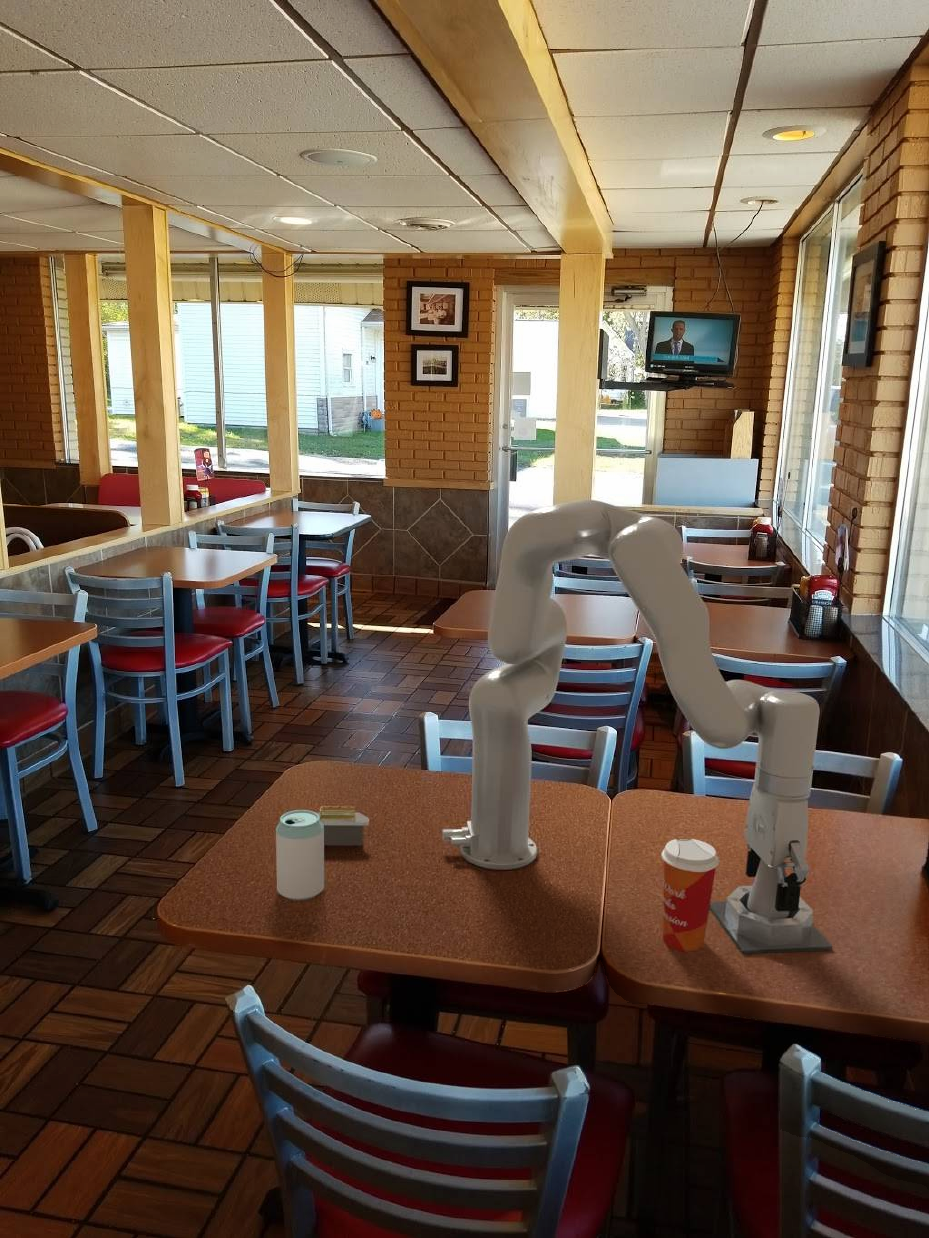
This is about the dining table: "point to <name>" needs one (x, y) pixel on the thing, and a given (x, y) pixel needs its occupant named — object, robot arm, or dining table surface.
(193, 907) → the dining table surface
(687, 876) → the paper cup
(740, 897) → the ring collar
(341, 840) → the platform
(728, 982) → the dining table surface
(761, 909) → the grey peg
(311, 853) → the can
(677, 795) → the dining table surface
